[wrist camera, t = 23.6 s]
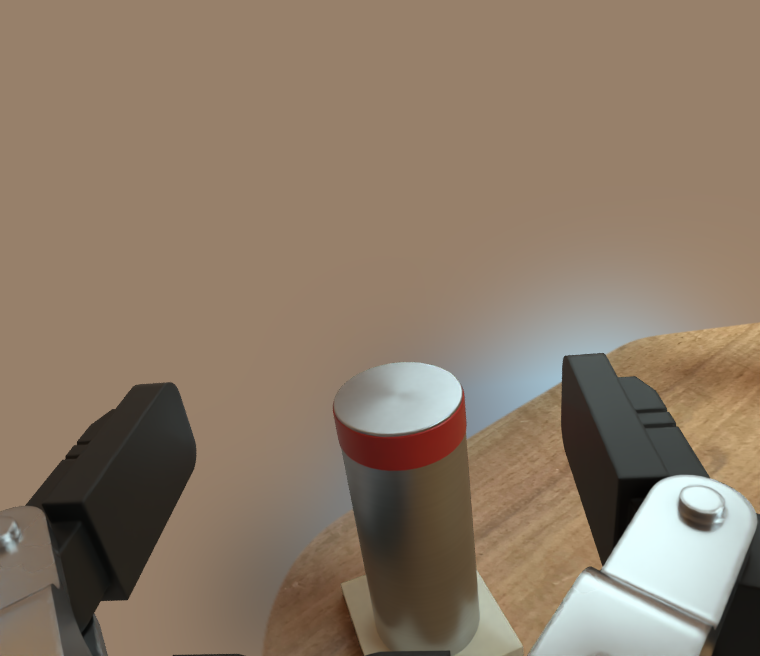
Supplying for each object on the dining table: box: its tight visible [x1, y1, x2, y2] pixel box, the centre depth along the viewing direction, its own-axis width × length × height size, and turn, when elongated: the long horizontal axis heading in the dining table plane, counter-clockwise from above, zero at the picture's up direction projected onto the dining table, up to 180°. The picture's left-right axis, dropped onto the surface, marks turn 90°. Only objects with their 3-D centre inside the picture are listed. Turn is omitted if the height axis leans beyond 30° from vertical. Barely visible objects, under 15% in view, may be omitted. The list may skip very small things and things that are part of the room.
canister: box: [333, 362, 480, 656], centre depth 27 cm, size 5×5×13 cm
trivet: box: [341, 569, 524, 656], centre depth 30 cm, size 7×7×1 cm
